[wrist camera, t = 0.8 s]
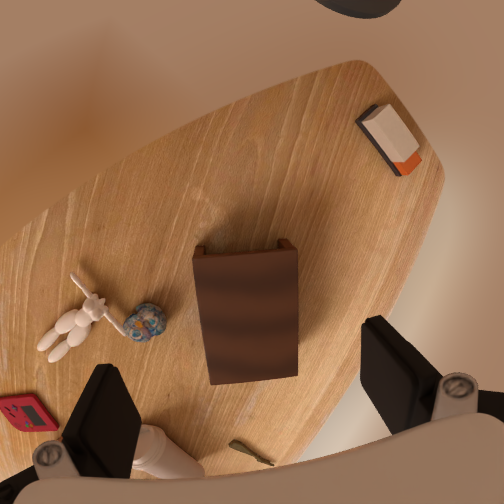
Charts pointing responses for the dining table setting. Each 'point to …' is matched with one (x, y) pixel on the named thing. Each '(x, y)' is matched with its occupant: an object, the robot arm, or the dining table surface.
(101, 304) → the decorative figure
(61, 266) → the dining table surface
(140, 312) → the decorative stone
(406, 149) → the tricolour layered block
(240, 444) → the olive tapered flat bar
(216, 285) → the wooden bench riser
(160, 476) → the coffee cup
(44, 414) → the handheld gaming console
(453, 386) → the robot arm
